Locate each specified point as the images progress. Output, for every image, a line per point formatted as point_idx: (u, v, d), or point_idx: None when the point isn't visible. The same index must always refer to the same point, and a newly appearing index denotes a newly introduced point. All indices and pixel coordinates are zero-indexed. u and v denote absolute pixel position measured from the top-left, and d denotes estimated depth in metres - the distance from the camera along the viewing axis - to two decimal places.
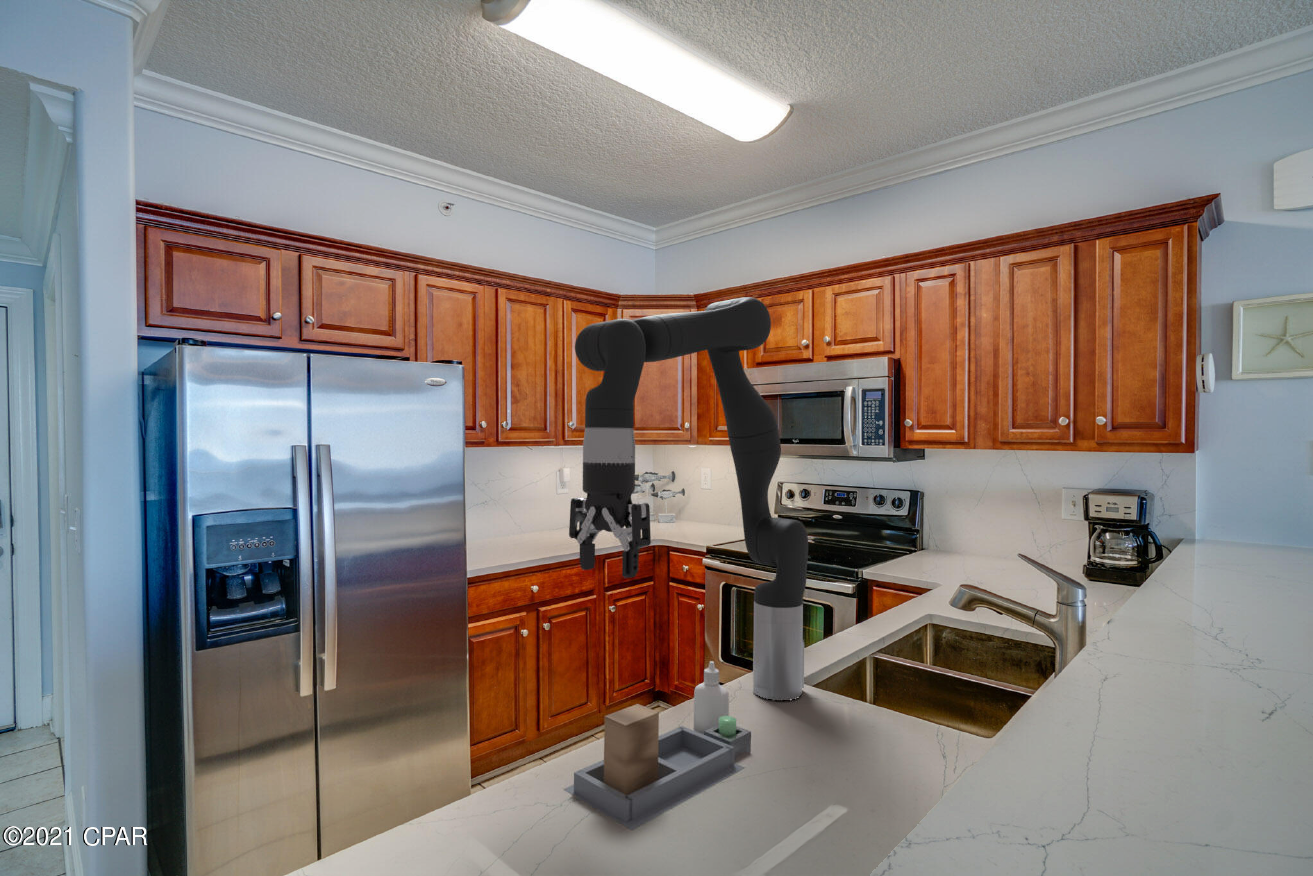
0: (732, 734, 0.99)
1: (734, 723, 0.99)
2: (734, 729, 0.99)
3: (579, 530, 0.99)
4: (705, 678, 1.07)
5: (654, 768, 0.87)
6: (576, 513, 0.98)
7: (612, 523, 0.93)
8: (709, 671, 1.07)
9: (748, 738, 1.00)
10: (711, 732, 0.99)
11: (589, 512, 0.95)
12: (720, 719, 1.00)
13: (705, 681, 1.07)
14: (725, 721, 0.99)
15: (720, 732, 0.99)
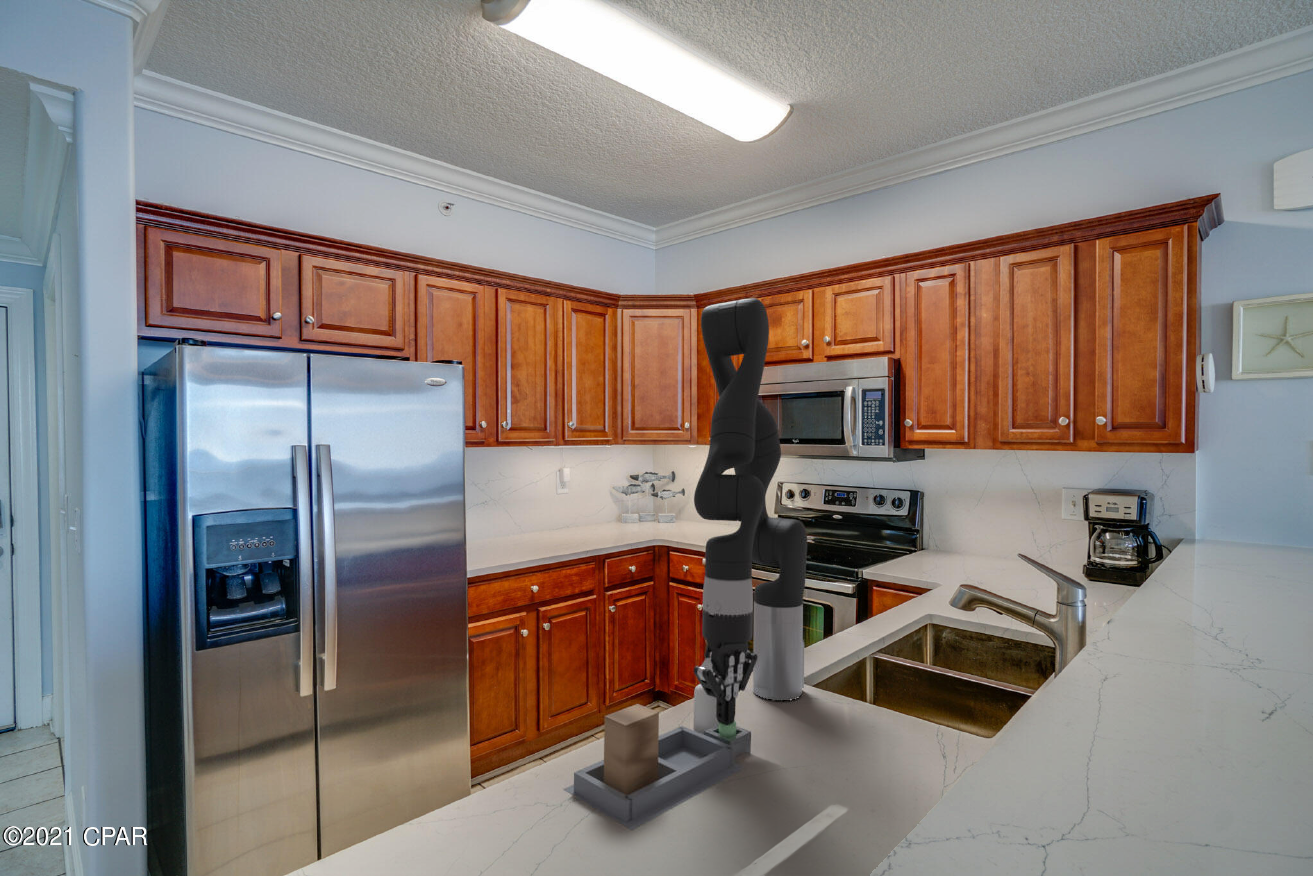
0: None
1: (734, 726, 0.99)
2: (734, 732, 0.99)
3: None
4: None
5: (654, 768, 0.87)
6: None
7: (738, 668, 1.00)
8: None
9: (748, 738, 1.00)
10: (711, 732, 0.99)
11: (730, 664, 0.98)
12: None
13: None
14: None
15: None
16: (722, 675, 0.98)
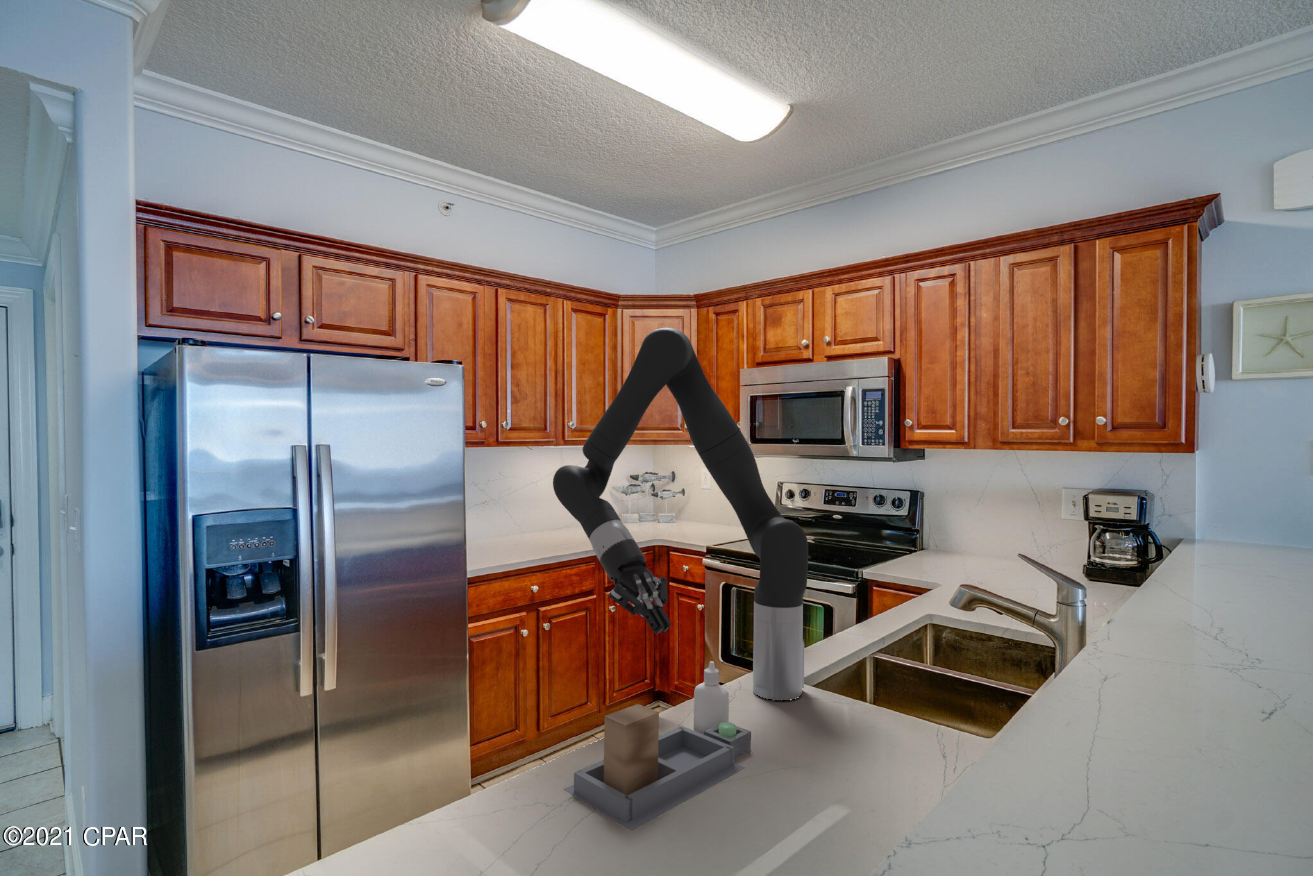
0: None
1: (734, 730, 0.99)
2: None
3: None
4: (705, 678, 1.07)
5: (654, 768, 0.87)
6: None
7: None
8: (709, 671, 1.07)
9: (748, 738, 1.00)
10: (711, 732, 0.99)
11: None
12: (720, 726, 1.00)
13: (705, 681, 1.07)
14: (725, 728, 0.99)
15: None
16: None
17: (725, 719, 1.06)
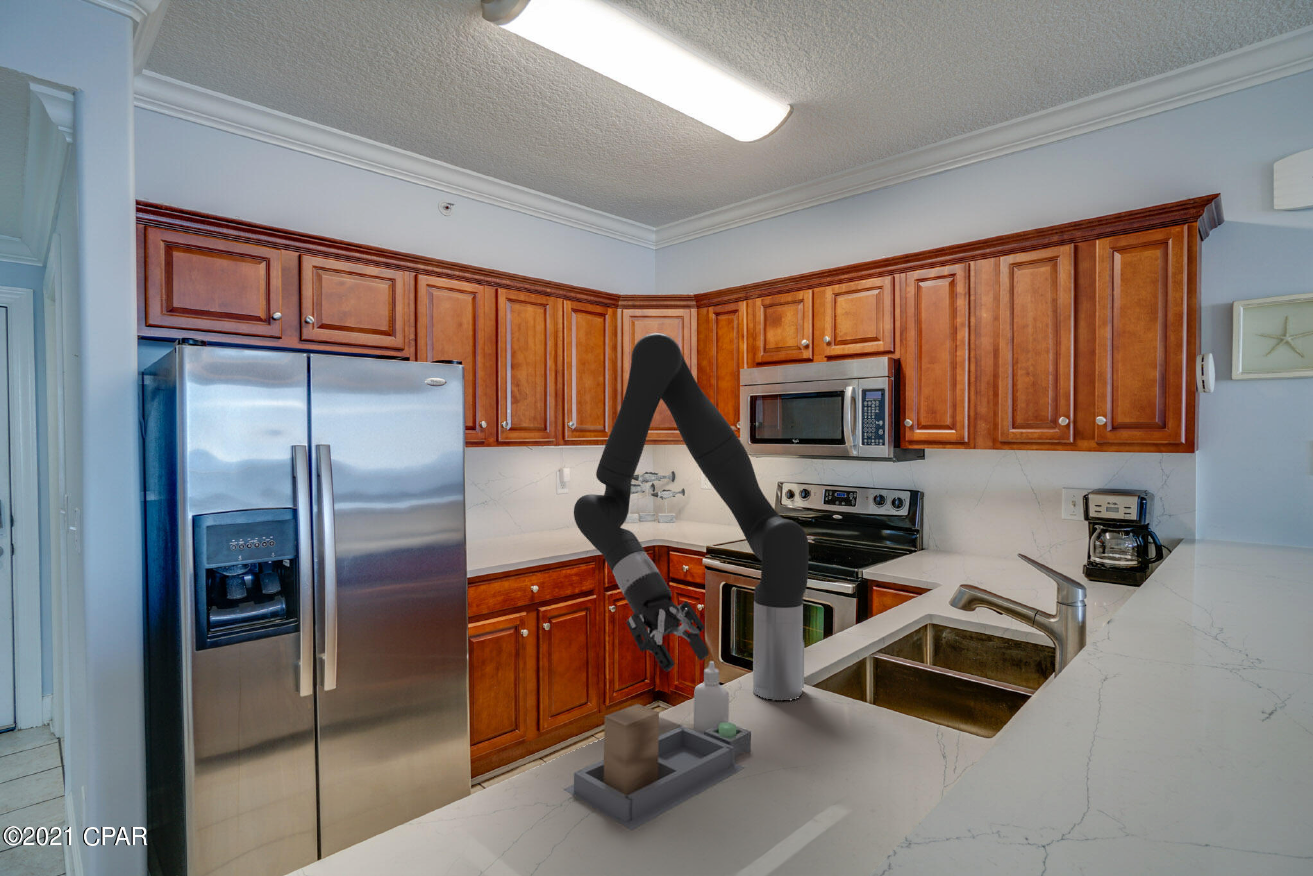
0: None
1: (734, 730, 0.99)
2: None
3: None
4: (705, 678, 1.07)
5: (654, 768, 0.87)
6: None
7: None
8: (709, 671, 1.07)
9: (748, 738, 1.00)
10: (711, 732, 0.99)
11: None
12: (720, 726, 1.00)
13: (705, 681, 1.07)
14: (725, 728, 0.99)
15: None
16: None
17: (725, 719, 1.06)
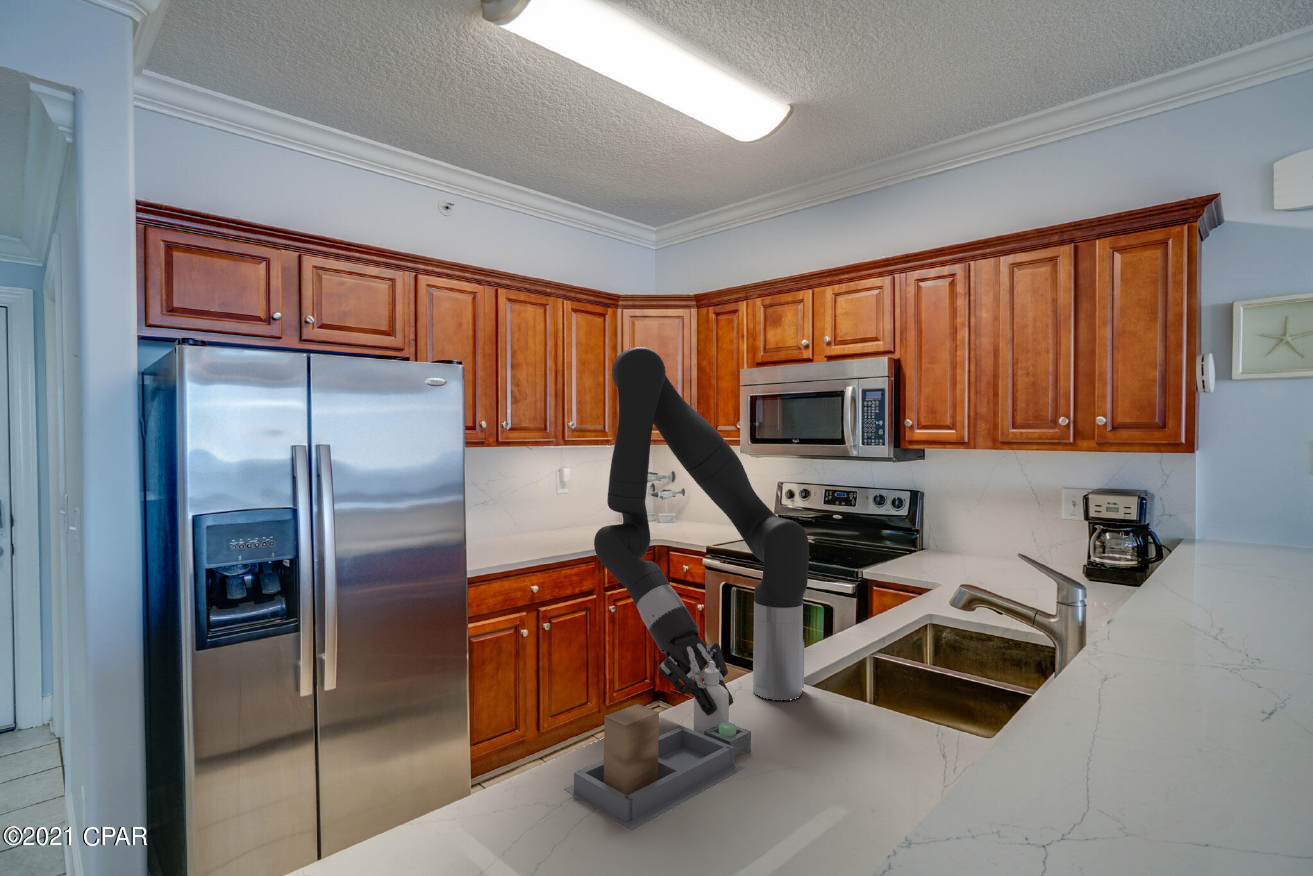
0: None
1: (734, 730, 0.99)
2: None
3: None
4: (705, 678, 1.07)
5: (654, 768, 0.87)
6: None
7: None
8: (709, 671, 1.07)
9: (748, 738, 1.00)
10: (711, 732, 0.99)
11: None
12: (720, 726, 1.00)
13: (705, 681, 1.07)
14: (725, 728, 0.99)
15: None
16: None
17: (725, 719, 1.06)
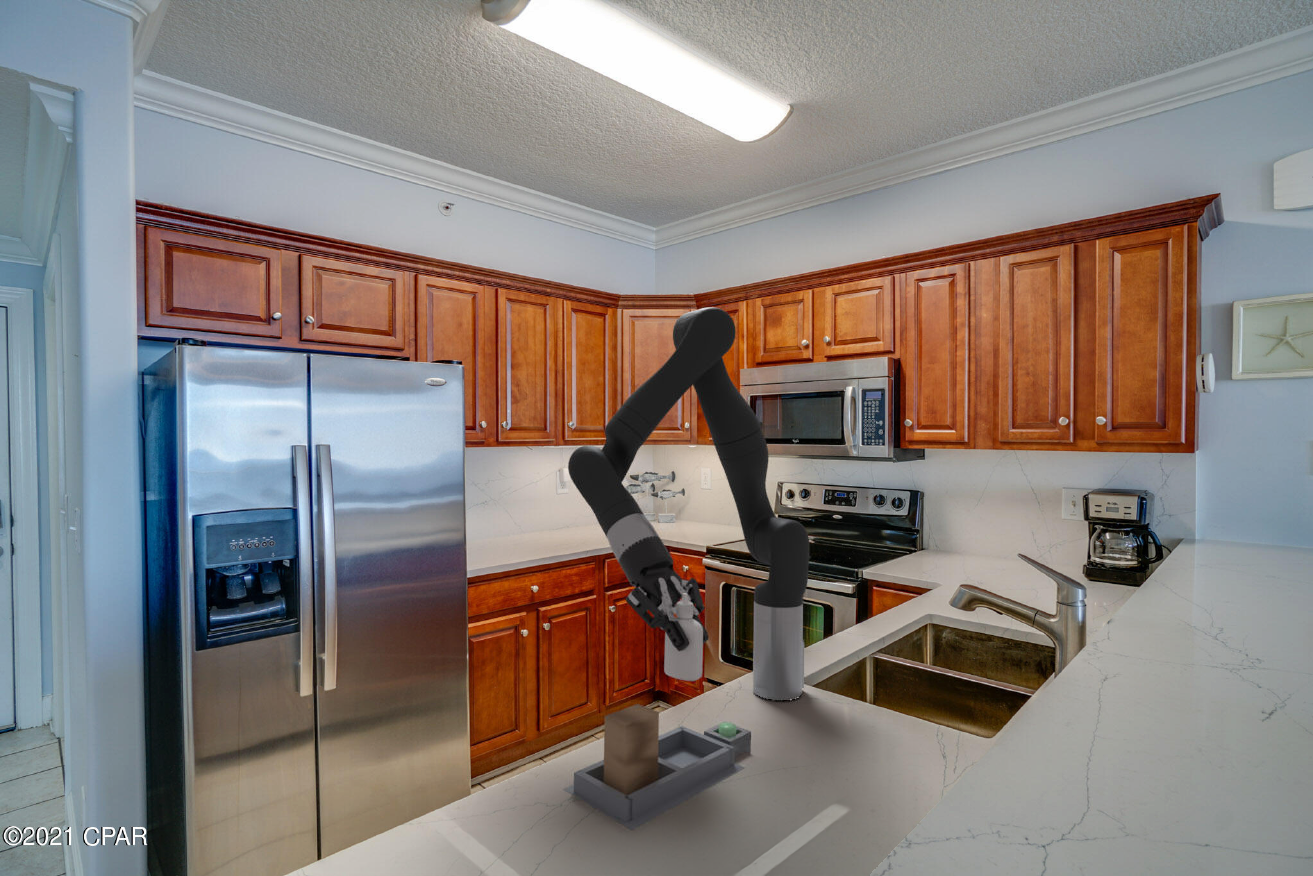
0: None
1: (734, 730, 0.99)
2: None
3: None
4: (677, 611, 0.97)
5: (654, 768, 0.87)
6: None
7: None
8: (682, 603, 0.96)
9: (748, 738, 1.00)
10: (711, 732, 0.99)
11: None
12: (720, 726, 1.00)
13: (677, 614, 0.97)
14: (725, 728, 0.99)
15: None
16: None
17: (699, 656, 0.95)
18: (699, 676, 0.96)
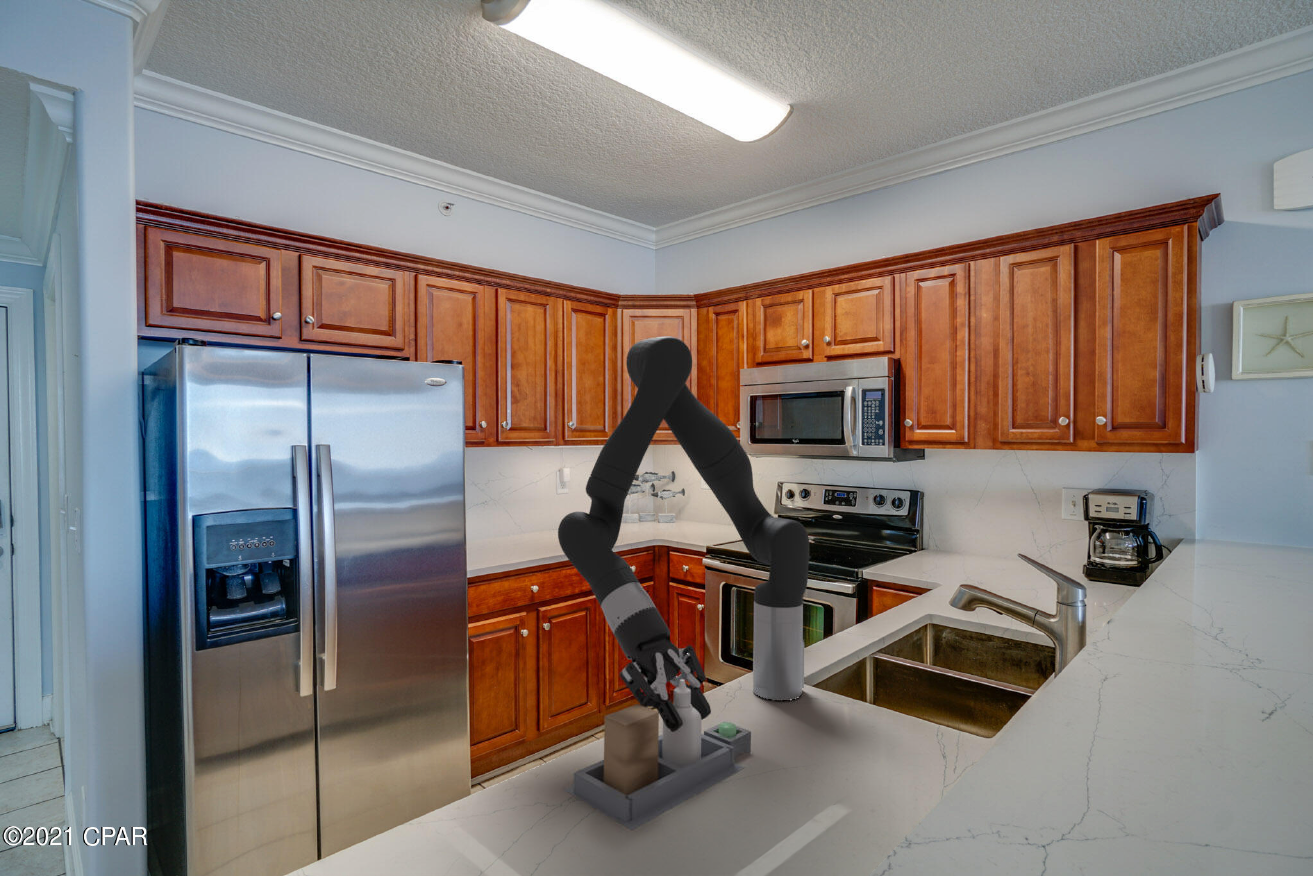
0: None
1: (734, 730, 0.99)
2: None
3: None
4: (674, 699, 0.94)
5: (654, 768, 0.87)
6: None
7: None
8: (679, 691, 0.93)
9: (748, 738, 1.00)
10: (711, 732, 0.99)
11: None
12: (720, 726, 1.00)
13: (674, 702, 0.94)
14: (725, 728, 0.99)
15: None
16: None
17: (697, 746, 0.92)
18: None
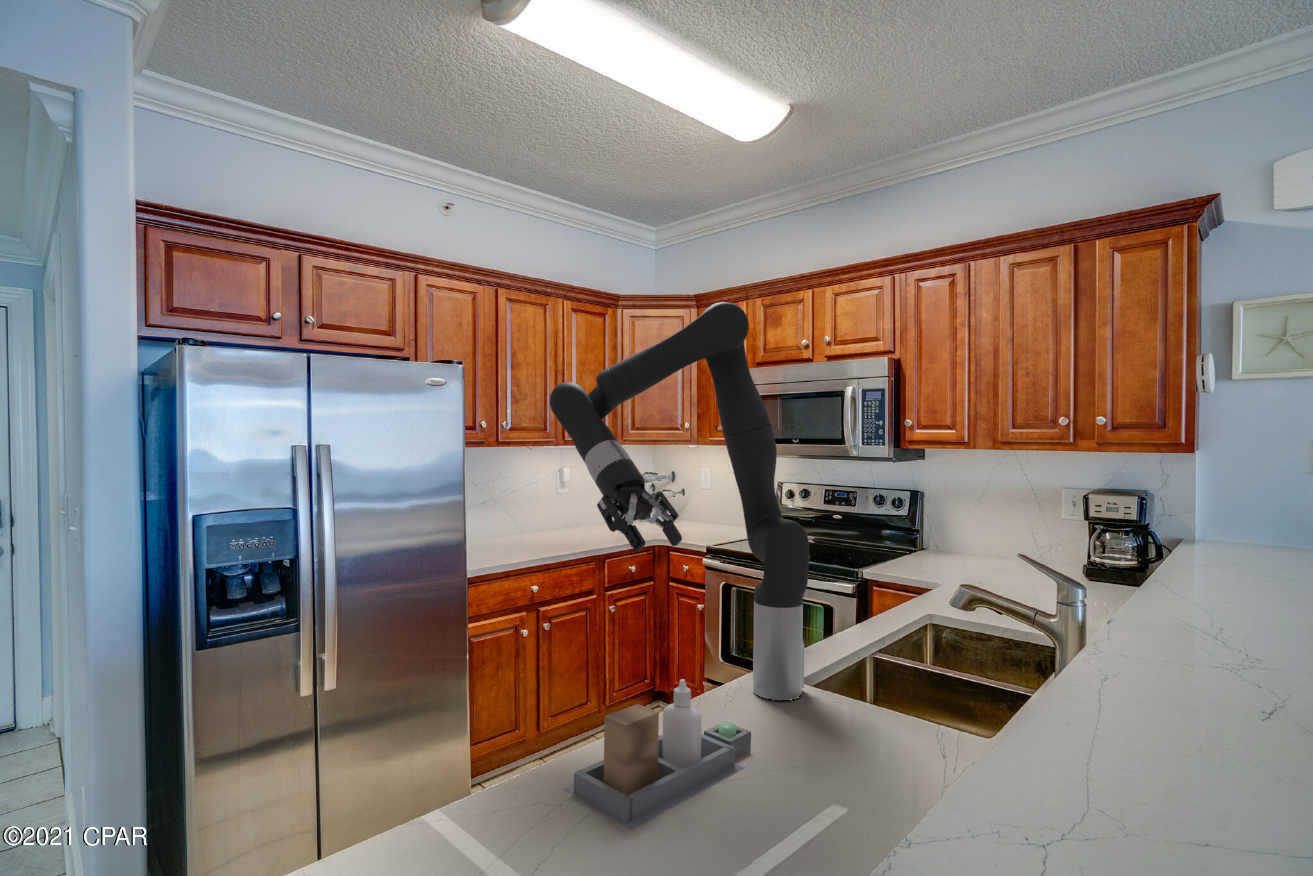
0: None
1: (734, 730, 0.99)
2: None
3: None
4: (675, 698, 0.94)
5: (654, 768, 0.87)
6: None
7: None
8: (679, 690, 0.94)
9: (748, 738, 1.00)
10: (711, 732, 0.99)
11: None
12: (720, 726, 1.00)
13: (675, 702, 0.94)
14: (725, 728, 0.99)
15: None
16: None
17: (697, 746, 0.93)
18: None
